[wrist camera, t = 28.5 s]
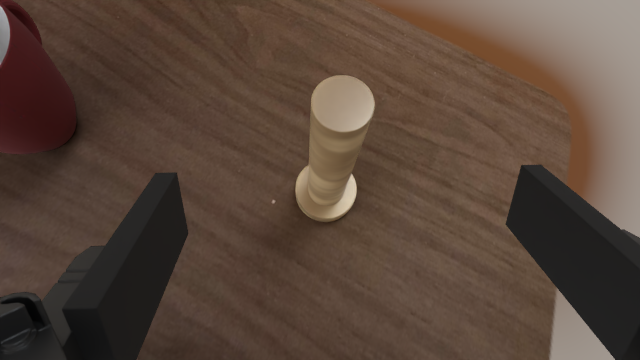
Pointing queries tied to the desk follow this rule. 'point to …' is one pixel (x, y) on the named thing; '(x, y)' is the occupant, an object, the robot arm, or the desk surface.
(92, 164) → the desk surface
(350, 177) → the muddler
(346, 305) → the desk surface
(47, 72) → the mug
